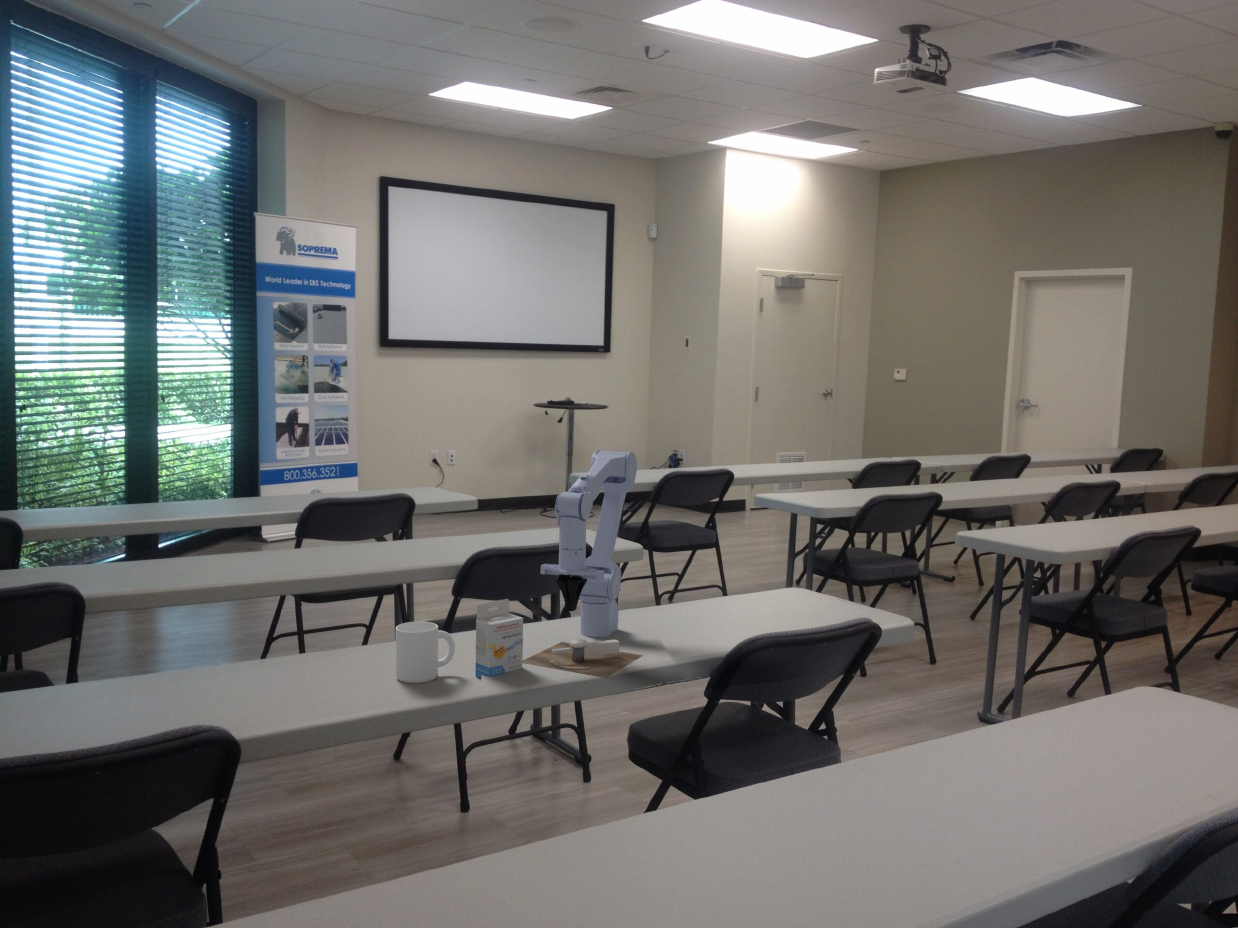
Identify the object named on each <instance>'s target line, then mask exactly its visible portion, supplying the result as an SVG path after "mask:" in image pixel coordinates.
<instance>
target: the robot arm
mask: <svg viewBox="0 0 1238 928" xmlns="http://www.w3.org/2000/svg"><path fill="white" fill-rule="evenodd" d="M637 471H638V460H637V456H636V455H635V452H634V451H612V450H611V451H609V450H608V451H607V450H600V449H596V450H595V451H594V452H593V453H592V455H591V459H590V469H589V470H588V472H587V474H581V475H580V476H579V477H578V478H577V479H576V480H575V481H574V483H573V484H572V485H571V487H570V488H569V489H568V490H567V491H562V492H561V493H558V495H557V496H556V499H555V505H554V513H555V517H556V524H557V525H556V526H557V527H559V529H558V530H559V532H558V533H559V535H558V536H559V537H558V549H559V550H558V564H554V563H553V564H551V563H544V564H541V565H540V575H552V576H558V578H556V584H557V586H558V588H559V589H560V592H561V595H562V597H563V601H564V604H565V611H567V612H575V611H576V610H577V608H578V603H579V601H580V635H582V636H584V637H589V638H604V637H605V638H606V637H608V636H611V635H612V634H613V633H614V632H616V631H618V630H619V605H618V603H617V601H616V599H617V598H618V597H619V595H620V593H621V585H622V584H621V579H622V571H621V568H620V567H619V565H618V564H617V563H616V562H615V561H614V560H613V557H614V552H615V547H616V543H617V537H618V532H619V528H620V522H621V517H622V513H623V508H624V504H625V499H626V495H627V493H629V492H630V491H632V490H633V489H634V485H635V480H636V476H637ZM601 491H603V493H604V494H603V495H604V496H603V500H602V505H601V508H600V514H599V518H598V522H597V523H598V524H597V528H596V533H595V537H594V541H593V547H592V551H591V554H590V556H588V557H586V553H587V551H586V550H587V548H586V547H587V546H586V545H587V520H588V519H589V517H590V515H591V511H592V508H593V505H594V504H593V503H594V501H595V500H596V499H597V497H599V494H600V492H601Z"/></svg>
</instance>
